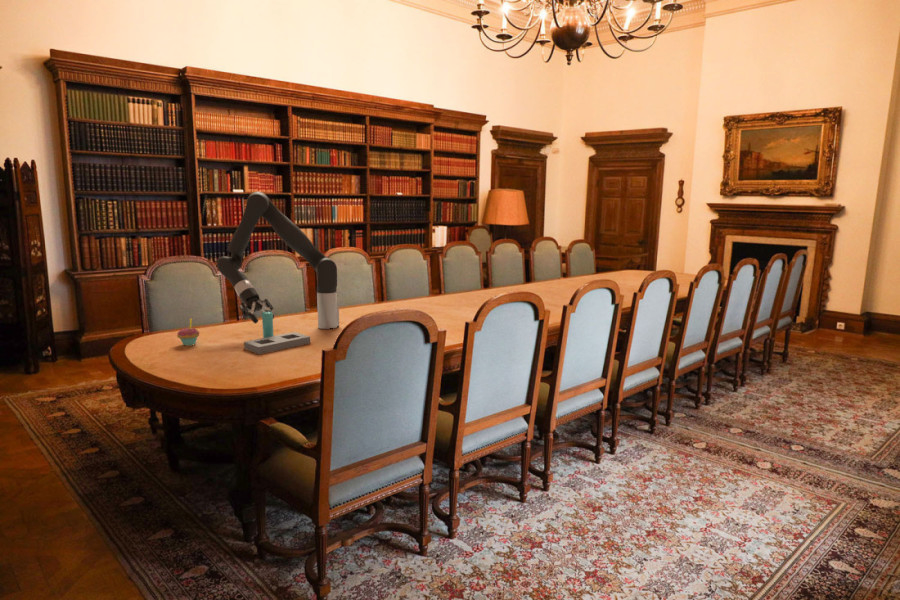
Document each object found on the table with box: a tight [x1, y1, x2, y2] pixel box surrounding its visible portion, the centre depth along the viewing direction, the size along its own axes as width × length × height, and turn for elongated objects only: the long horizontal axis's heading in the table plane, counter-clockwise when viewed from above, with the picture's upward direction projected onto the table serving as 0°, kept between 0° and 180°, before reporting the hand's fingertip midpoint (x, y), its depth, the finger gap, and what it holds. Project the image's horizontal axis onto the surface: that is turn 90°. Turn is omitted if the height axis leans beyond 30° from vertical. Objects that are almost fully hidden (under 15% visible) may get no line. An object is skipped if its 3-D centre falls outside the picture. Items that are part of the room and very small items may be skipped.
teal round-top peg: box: [261, 311, 275, 338], centre depth 252 cm, size 4×4×12 cm
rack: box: [243, 331, 311, 355], centre depth 242 cm, size 24×12×3 cm, turn 137°
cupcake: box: [176, 317, 200, 346], centre depth 243 cm, size 9×8×12 cm
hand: (264, 320), depth 253 cm, fingers open, 8 cm apart
